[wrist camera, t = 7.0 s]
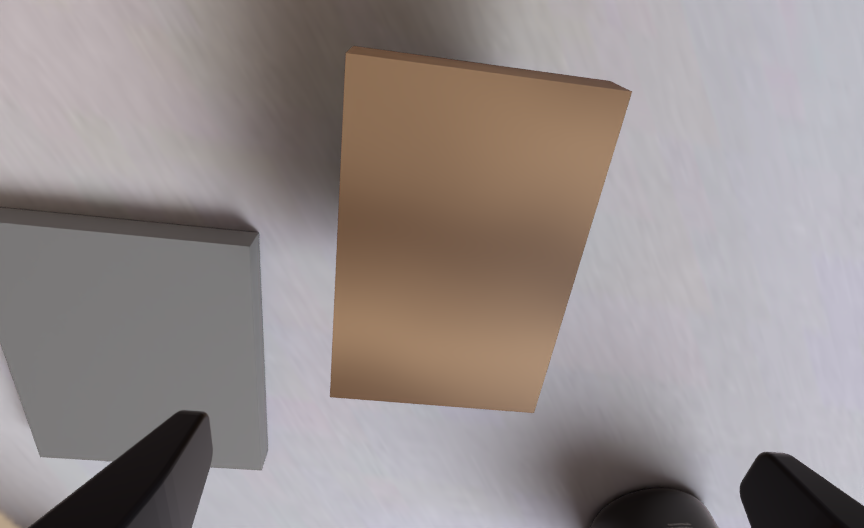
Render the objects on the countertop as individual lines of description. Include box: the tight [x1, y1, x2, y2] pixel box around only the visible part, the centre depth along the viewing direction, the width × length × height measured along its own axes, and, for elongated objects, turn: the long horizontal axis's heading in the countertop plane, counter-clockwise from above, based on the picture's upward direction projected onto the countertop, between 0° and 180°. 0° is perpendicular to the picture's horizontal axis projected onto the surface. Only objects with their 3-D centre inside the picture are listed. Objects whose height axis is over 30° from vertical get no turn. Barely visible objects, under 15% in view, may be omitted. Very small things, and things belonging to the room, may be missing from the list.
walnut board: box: [330, 46, 632, 413], centre depth 14 cm, size 10×6×2 cm, turn 173°
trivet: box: [0, 207, 268, 470], centre depth 21 cm, size 12×10×1 cm
